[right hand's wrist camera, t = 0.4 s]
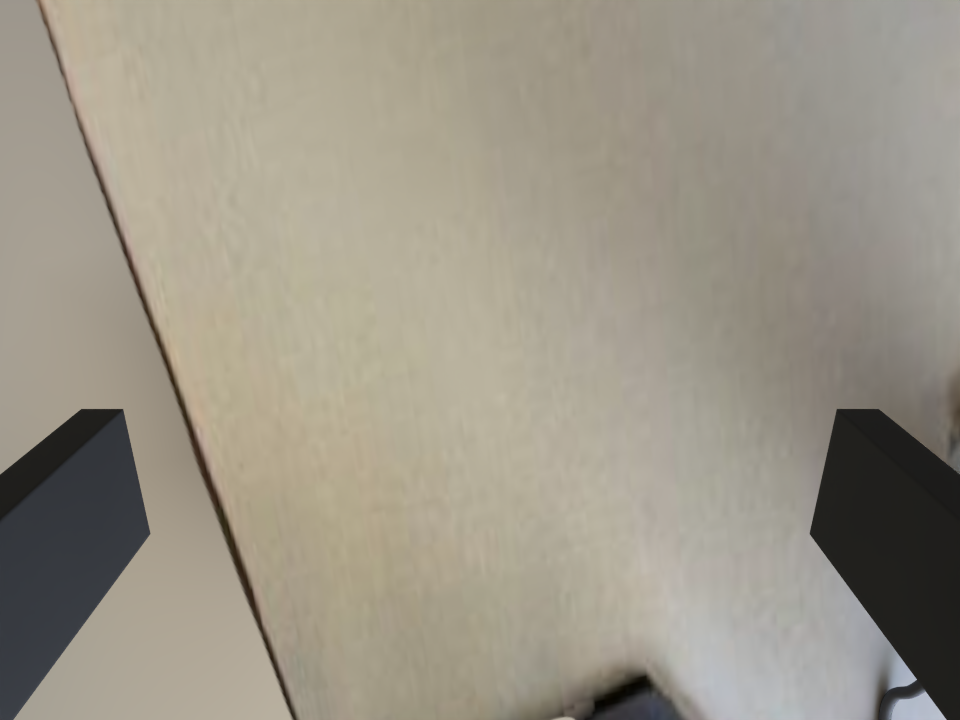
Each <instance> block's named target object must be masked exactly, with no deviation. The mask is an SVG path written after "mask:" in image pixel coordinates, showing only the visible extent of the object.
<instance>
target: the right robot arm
mask: <svg viewBox="0 0 960 720" xmlns="http://www.w3.org/2000/svg"><path fill="white" fill-rule="evenodd" d="M149 535H150V530H149V526H148V521H147V517H146V512H145V507H144V503H143V498H142V494H141V489H140V484H139V480H138V475H137V471H136V466H135V462H134V457H133V452H132V448H131V443H130V439H129V434H128V430H127V425H126V421H125V416H124V411H123V409H81V410H80V411H78V412H77V413H76V414H75V415H74V416H72V417H71V418H70V419H69V420H67V421H66V422H65V423H64V424H62V425H61V426H60V427H59V428H57V429H56V430H55V431H54V432H52V433H51V434H50V435H49V436H48V437H46V438H45V439H44V440H43V441H41V442H40V443H39V444H38V445H36V446H35V447H34V448H33V449H31V450H30V451H29V452H28V453H27V454H25V455H24V456H23V457H22V458H20V459H19V460H18V461H17V462H15V463H14V464H13V465H12V466H10V467H9V468H8V469H7V470H5V471H4V472H3V473H2V474H0V720H13V719H14V718H15V717H16V715H17V714H18V713H19V711H20V710H21V708H22V707H23V706H24V704H25V703H26V702H27V700H28V699H29V698H30V696H31V695H32V694H33V692H34V691H35V690H36V688H37V687H38V685H39V684H40V683H41V681H42V680H43V679H44V677H45V676H46V675H47V673H48V672H49V671H50V669H51V668H52V666H53V665H54V664H55V662H56V661H57V660H58V658H59V657H60V656H61V654H62V653H63V651H64V650H65V649H66V647H67V646H68V645H69V643H70V642H71V641H72V639H73V638H74V637H75V635H76V634H77V633H78V631H79V630H80V629H81V627H82V626H83V624H84V623H85V622H86V620H87V619H88V618H89V616H90V615H91V614H92V612H93V611H94V609H95V608H96V607H97V605H98V604H99V603H100V601H101V600H102V599H103V597H104V596H105V595H106V593H107V592H108V591H109V589H110V588H111V586H112V585H113V584H114V582H115V581H116V580H117V578H118V577H119V576H120V574H121V573H122V571H123V570H124V569H125V567H126V566H127V565H128V563H129V562H130V561H131V559H132V558H133V557H134V555H135V554H136V553H137V551H138V550H139V548H140V547H141V546H142V544H143V543H144V542H145V540H146V539H147V538H148V536H149ZM810 535H811V536H812V538H813V539H814V540H815V542H816V543H817V544H818V546H819V547H820V549H821V550H822V551H823V553H824V554H825V555H826V557H827V558H828V559H829V561H830V562H831V563H832V565H833V566H834V567H835V569H836V570H837V572H838V573H839V574H840V576H841V577H842V578H843V580H844V581H845V582H846V584H847V585H848V586H849V588H850V589H851V591H852V592H853V593H854V595H855V596H856V597H857V599H858V600H859V601H860V603H861V604H862V605H863V607H864V608H865V610H866V611H867V612H868V614H869V615H870V616H871V618H872V619H873V620H874V622H875V623H876V624H877V626H878V627H879V629H880V630H881V631H882V633H883V634H884V635H885V637H886V638H887V639H888V641H889V642H890V643H891V645H892V646H893V647H894V649H895V650H896V652H897V653H898V654H899V656H900V657H901V658H902V660H903V661H904V662H905V664H906V665H907V666H908V668H909V669H910V671H911V672H912V673H913V675H914V676H915V677H916V679H917V680H918V681H919V683H920V684H921V685H922V687H923V688H924V690H925V691H926V692H927V694H928V695H929V696H930V698H931V699H932V700H933V702H934V703H935V704H936V706H937V707H938V708H939V710H940V711H941V713H942V714H943V715H944V717H945V718H946V719H947V720H960V474H958V473H957V472H956V471H955V470H953V469H952V468H951V467H950V466H948V465H947V464H946V463H945V462H943V461H942V460H941V459H940V458H938V457H937V456H936V455H935V454H934V453H932V452H931V451H930V450H929V449H927V448H926V447H925V446H924V445H922V444H921V443H920V442H919V441H917V440H916V439H915V438H914V437H912V436H911V435H910V434H909V433H908V432H906V431H905V430H904V429H903V428H901V427H900V426H899V425H898V424H896V423H895V422H894V421H893V420H891V419H890V418H889V417H888V416H887V415H885V414H884V413H883V412H882V411H880V410H879V409H837V411H836V416H835V420H834V425H833V430H832V434H831V439H830V443H829V448H828V452H827V457H826V462H825V466H824V471H823V475H822V480H821V484H820V489H819V494H818V498H817V503H816V507H815V512H814V516H813V521H812V526H811V530H810Z"/></svg>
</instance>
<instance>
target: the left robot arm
mask: <svg viewBox="0 0 960 720" xmlns="http://www.w3.org/2000/svg"><path fill="white" fill-rule="evenodd" d="M924 692H925V690H924V688H923V687H922V685H921V684H920V683H919V681H918V680H916V681H915V682H913V683H912V684H910V685H908V686H905V687H896V688H892V689H890V690H889V691H888V692H887V693H886V695H885V696H884V698H883V700H882V703H881V706H880V711H879V720H891V717H892V711H893V708H894V706H895V704H896V703H897V702H898V701H899V700H900V699H911V698H914V697H917V696H919V695H921V694H922V693H924Z"/></svg>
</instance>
